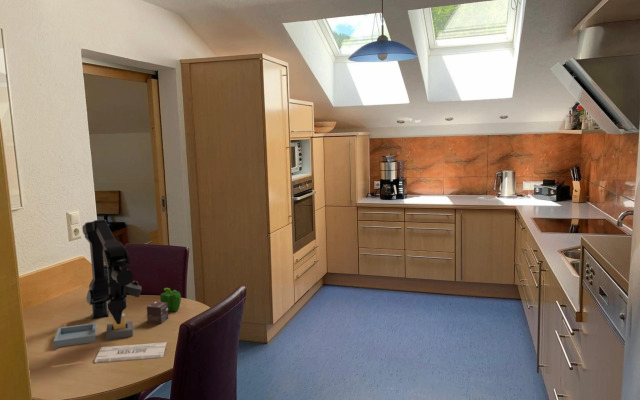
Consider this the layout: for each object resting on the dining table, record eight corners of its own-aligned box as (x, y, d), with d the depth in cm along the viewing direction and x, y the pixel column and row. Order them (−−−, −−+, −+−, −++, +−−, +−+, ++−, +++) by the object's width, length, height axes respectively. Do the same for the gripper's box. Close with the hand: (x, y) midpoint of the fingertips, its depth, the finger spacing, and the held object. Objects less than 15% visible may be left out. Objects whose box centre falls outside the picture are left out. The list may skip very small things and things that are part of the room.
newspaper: (168, 344, 180) (167, 337, 179) (163, 362, 168) (163, 356, 167) (101, 348, 176) (100, 342, 175) (92, 368, 164) (91, 361, 164)
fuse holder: (107, 332, 190) (107, 324, 189) (132, 328, 193) (132, 321, 192) (106, 341, 181) (106, 333, 181) (133, 337, 184) (132, 329, 184)
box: (161, 325, 196) (160, 307, 195) (147, 324, 197) (146, 306, 196) (168, 319, 202) (167, 302, 201) (155, 318, 203) (154, 301, 202)
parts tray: (59, 334, 187) (58, 327, 187) (96, 329, 192) (96, 322, 191) (54, 348, 175) (53, 341, 175) (94, 342, 180) (94, 335, 179)
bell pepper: (182, 306, 217) (181, 283, 216) (181, 312, 209) (179, 289, 208) (162, 307, 216) (160, 285, 214) (160, 314, 208) (158, 291, 206)
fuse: (114, 332, 188) (113, 314, 187) (125, 331, 189) (124, 313, 188) (114, 335, 185) (113, 317, 184) (125, 334, 186) (124, 316, 185)
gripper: (140, 283, 178) (142, 325, 180) (139, 270, 196) (141, 308, 198) (106, 287, 174) (109, 329, 177) (108, 273, 192) (111, 312, 194)
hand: (119, 319), depth 186 cm, fingers open, 9 cm apart
